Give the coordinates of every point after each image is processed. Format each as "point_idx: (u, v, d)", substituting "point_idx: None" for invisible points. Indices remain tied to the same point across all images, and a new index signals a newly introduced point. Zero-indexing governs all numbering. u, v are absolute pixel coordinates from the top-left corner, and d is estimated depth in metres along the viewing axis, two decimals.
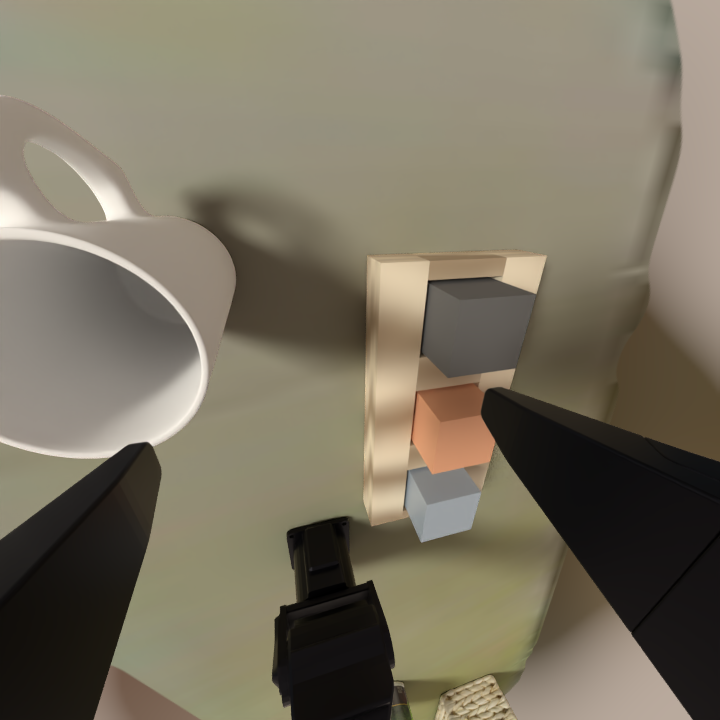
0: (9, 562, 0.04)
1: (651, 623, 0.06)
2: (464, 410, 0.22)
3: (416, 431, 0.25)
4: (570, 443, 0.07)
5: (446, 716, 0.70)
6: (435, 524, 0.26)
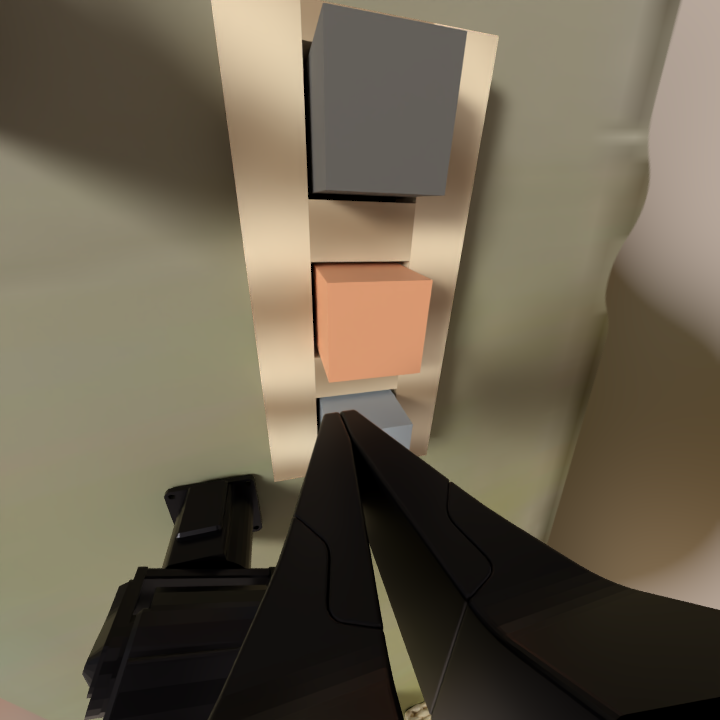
0: (333, 492, 0.05)
1: (438, 711, 0.05)
2: (372, 277, 0.14)
3: (319, 331, 0.17)
4: (376, 485, 0.06)
5: None
6: None
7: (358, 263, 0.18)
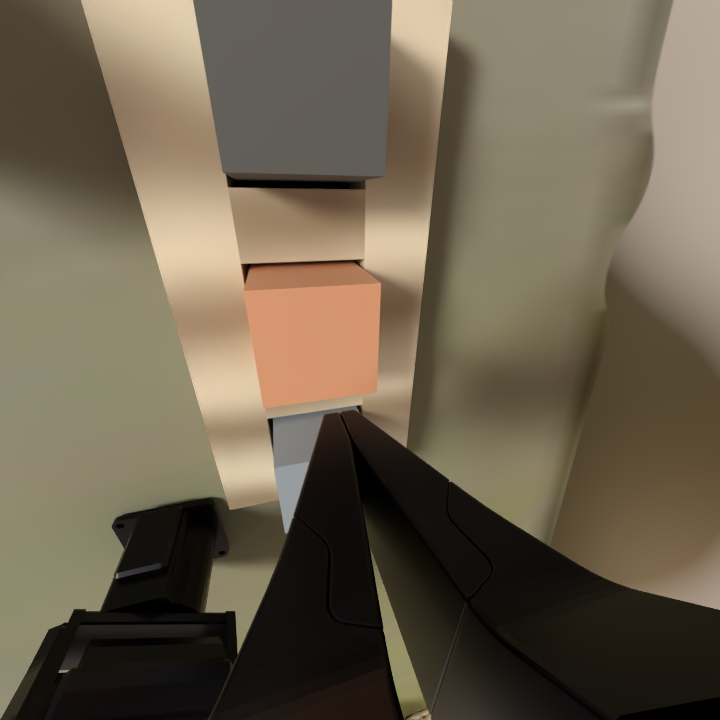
0: (333, 492, 0.05)
1: (438, 711, 0.05)
2: (307, 281, 0.12)
3: None
4: (376, 485, 0.06)
5: None
6: None
7: (305, 263, 0.15)
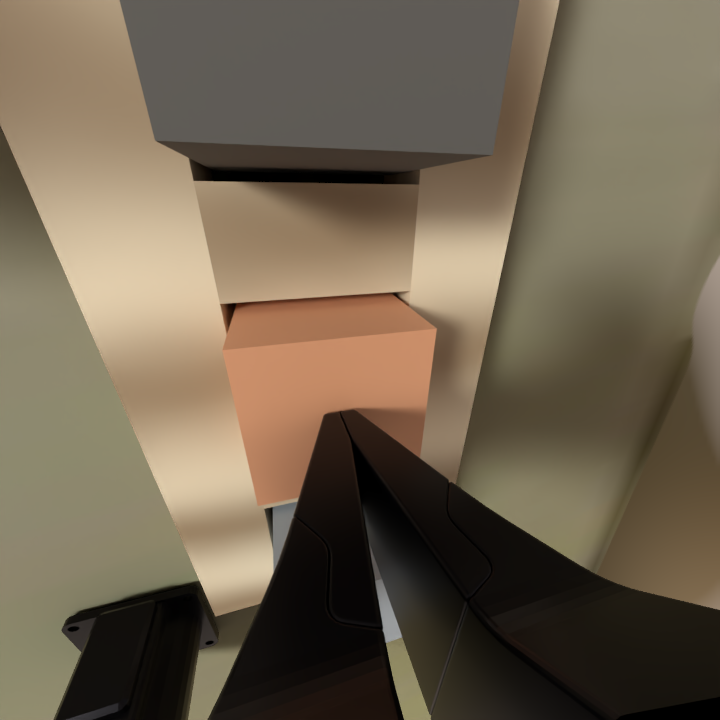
0: (333, 492, 0.05)
1: (438, 711, 0.05)
2: (323, 327, 0.08)
3: None
4: (376, 485, 0.06)
5: None
6: None
7: None
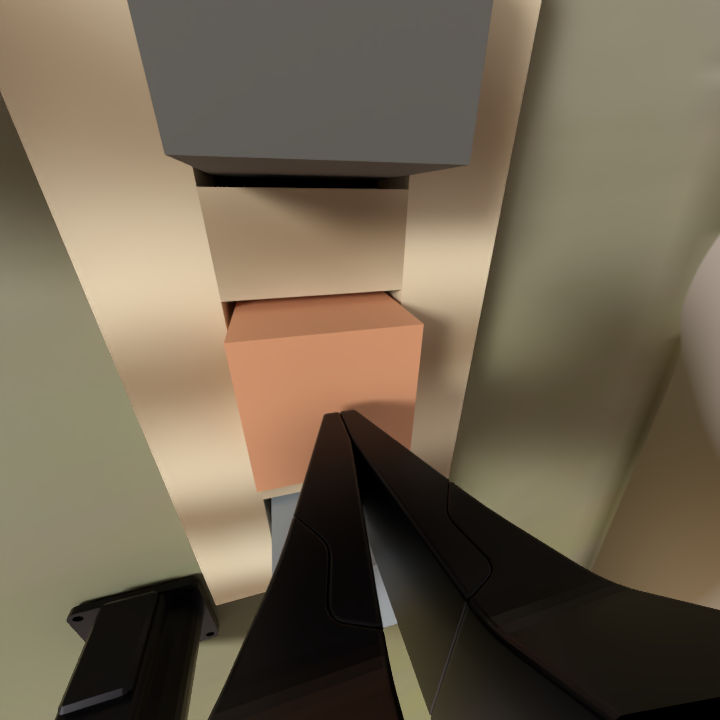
0: (333, 492, 0.05)
1: (438, 711, 0.05)
2: (318, 322, 0.08)
3: None
4: (376, 485, 0.06)
5: None
6: None
7: None
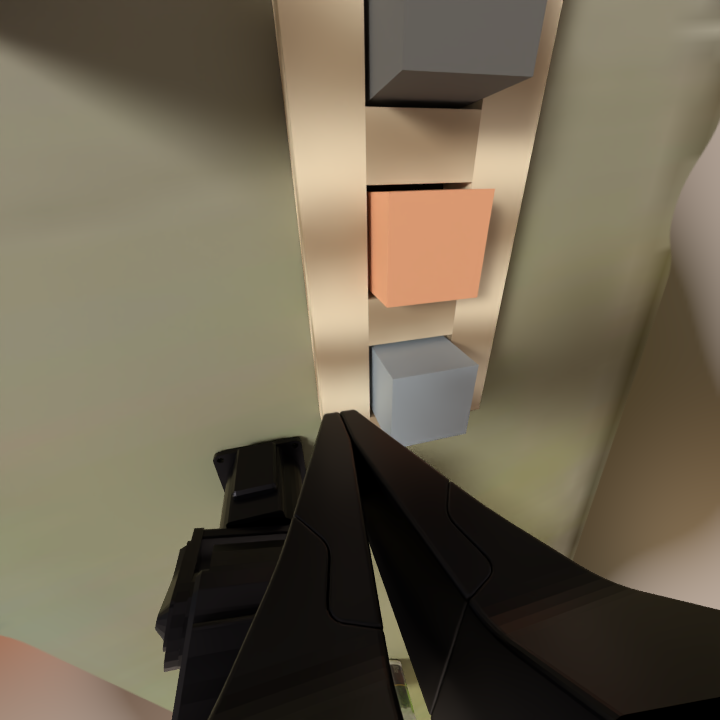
0: (333, 492, 0.05)
1: (438, 711, 0.05)
2: (431, 190, 0.14)
3: (368, 263, 0.17)
4: (376, 485, 0.06)
5: None
6: (409, 418, 0.17)
7: (405, 190, 0.17)
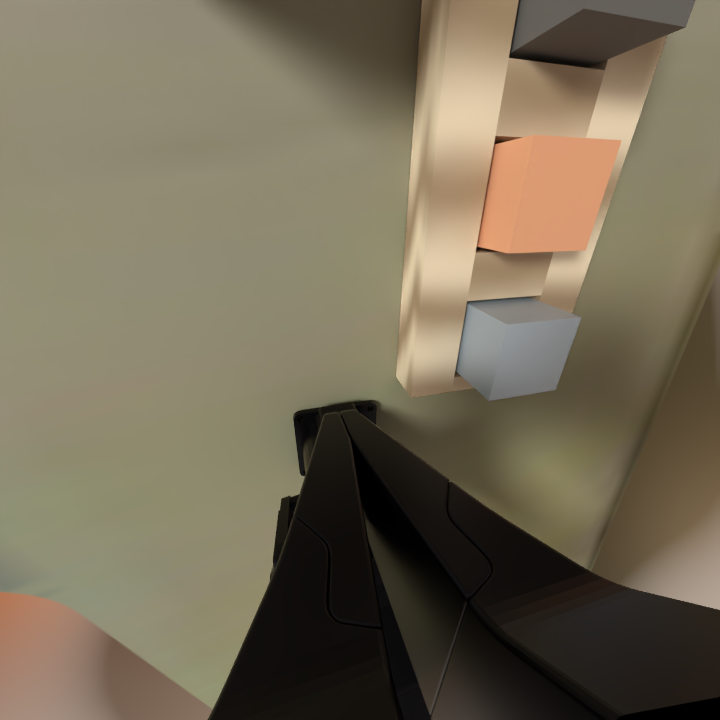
0: (333, 492, 0.05)
1: (438, 711, 0.05)
2: None
3: None
4: (376, 485, 0.06)
5: None
6: (512, 368, 0.18)
7: None
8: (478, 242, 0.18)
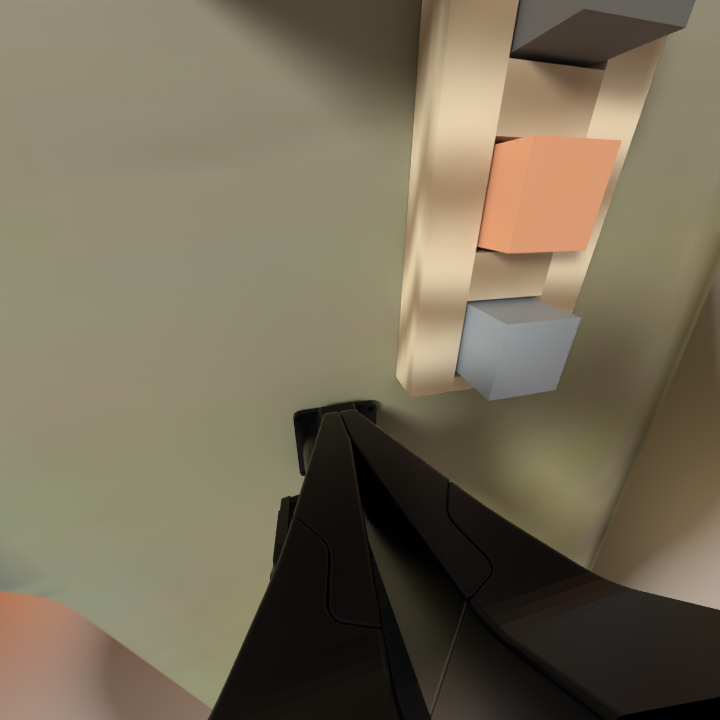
0: (333, 492, 0.05)
1: (438, 711, 0.05)
2: None
3: None
4: (376, 485, 0.06)
5: None
6: (512, 368, 0.18)
7: None
8: (478, 242, 0.18)
